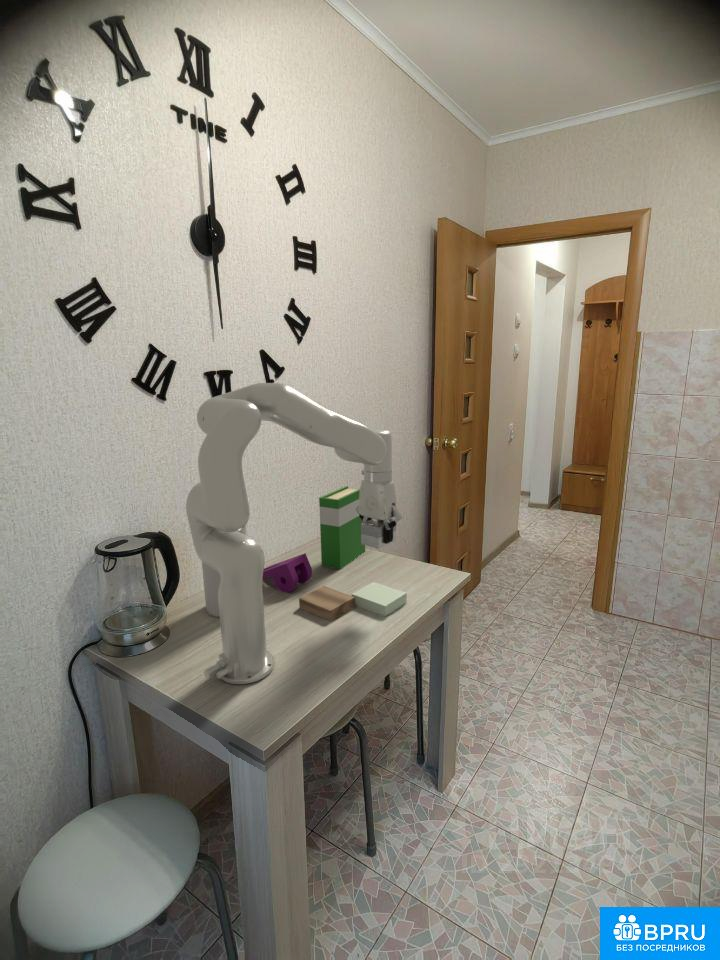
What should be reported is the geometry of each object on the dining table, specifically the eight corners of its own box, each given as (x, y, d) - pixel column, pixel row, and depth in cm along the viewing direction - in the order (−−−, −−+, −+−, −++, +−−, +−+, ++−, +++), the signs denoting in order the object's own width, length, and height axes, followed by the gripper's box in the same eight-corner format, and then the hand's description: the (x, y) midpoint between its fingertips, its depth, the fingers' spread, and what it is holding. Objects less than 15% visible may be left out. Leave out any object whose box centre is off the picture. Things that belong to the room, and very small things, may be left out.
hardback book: (347, 548, 182) (346, 486, 177) (365, 551, 179) (364, 488, 173) (321, 565, 167) (319, 497, 162) (340, 569, 164) (338, 500, 158)
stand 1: (330, 621, 131) (330, 610, 130) (299, 607, 138) (299, 598, 137) (354, 606, 138) (354, 597, 137) (324, 595, 146) (323, 585, 145)
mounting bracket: (257, 601, 155) (297, 589, 145) (247, 577, 155) (286, 563, 145) (277, 590, 163) (315, 578, 153) (267, 566, 163) (305, 553, 153)
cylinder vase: (236, 593, 148) (230, 514, 142) (260, 606, 139) (254, 522, 134) (198, 608, 139) (189, 524, 133) (221, 623, 131) (213, 534, 125)
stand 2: (385, 616, 133) (385, 606, 132) (351, 603, 140) (351, 593, 139) (406, 602, 140) (406, 592, 139) (373, 591, 148) (373, 581, 147)
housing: (378, 548, 131) (378, 524, 130) (361, 544, 135) (360, 519, 133) (396, 540, 137) (395, 516, 136) (378, 536, 141) (378, 512, 139)
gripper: (344, 474, 134) (346, 537, 138) (396, 483, 124) (396, 550, 128) (361, 470, 140) (363, 530, 144) (412, 477, 129) (412, 542, 133)
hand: (378, 539), depth 136 cm, fingers closed on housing, 6 cm apart
